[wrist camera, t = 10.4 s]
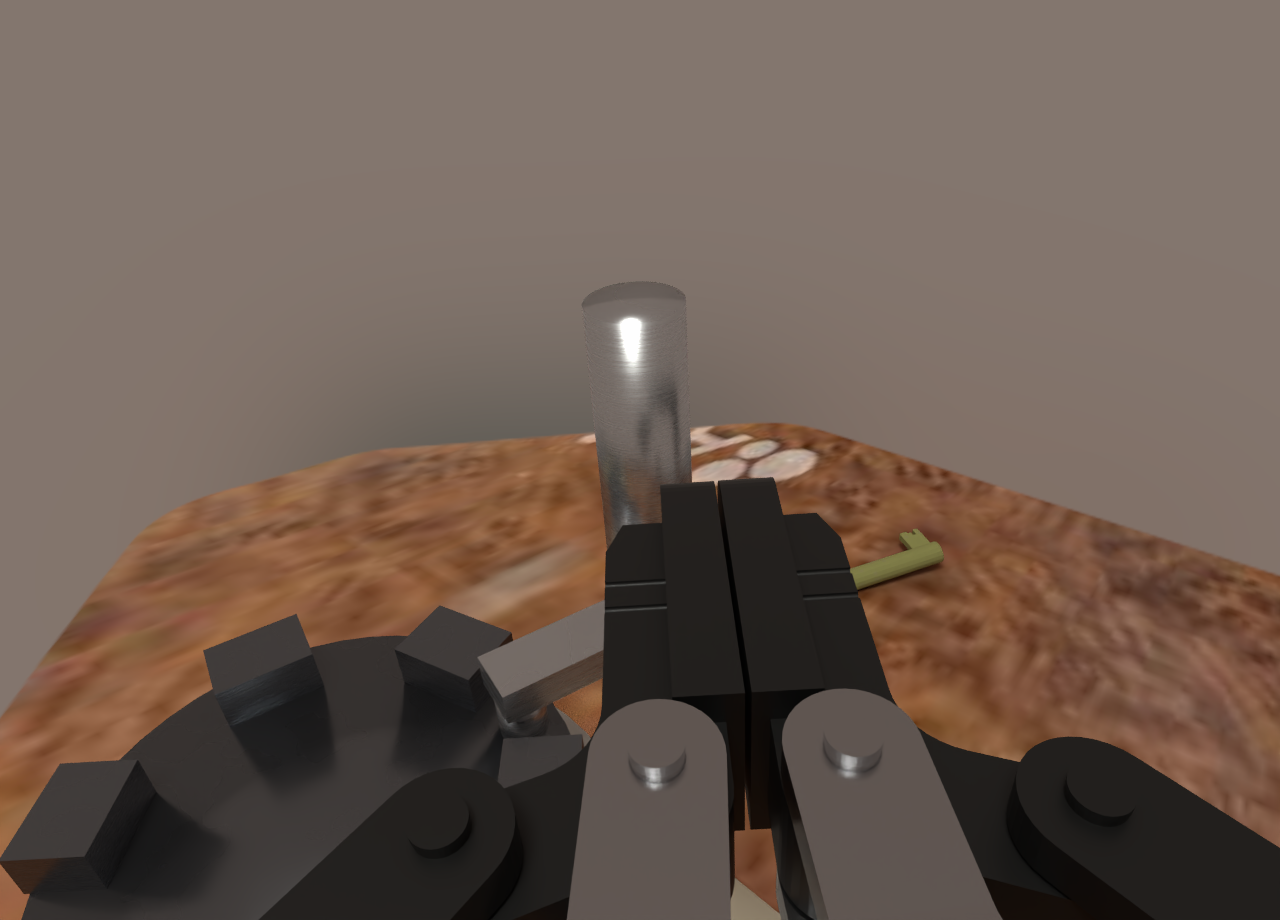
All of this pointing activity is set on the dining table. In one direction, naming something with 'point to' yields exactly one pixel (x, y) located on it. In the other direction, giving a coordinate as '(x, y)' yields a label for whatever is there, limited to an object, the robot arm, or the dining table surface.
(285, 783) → the cap with crank handle
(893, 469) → the dining table surface
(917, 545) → the key
